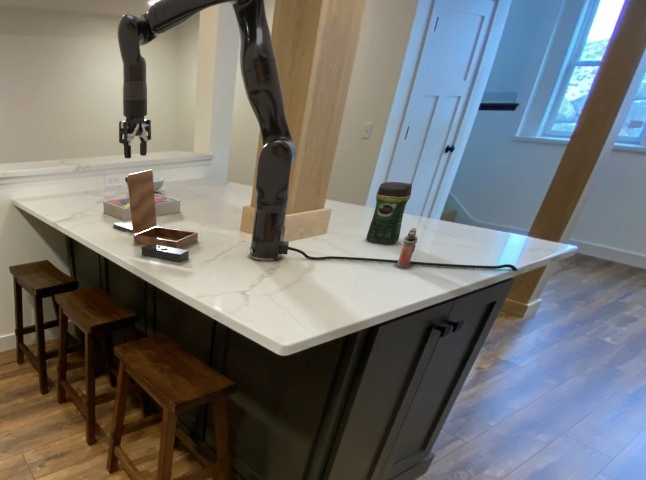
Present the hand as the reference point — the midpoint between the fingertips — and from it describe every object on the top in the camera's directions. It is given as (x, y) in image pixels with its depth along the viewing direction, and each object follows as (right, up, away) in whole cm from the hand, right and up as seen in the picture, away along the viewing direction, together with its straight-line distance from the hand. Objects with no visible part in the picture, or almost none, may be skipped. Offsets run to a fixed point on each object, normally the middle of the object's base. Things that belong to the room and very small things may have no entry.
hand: (135, 156), depth 146 cm
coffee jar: (+84, -27, +5) cm, 88 cm away
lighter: (+79, -40, -15) cm, 90 cm away
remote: (+9, -34, -2) cm, 36 cm away
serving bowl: (+6, +32, +100) cm, 105 cm away
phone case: (-2, -12, +33) cm, 35 cm away
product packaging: (+3, +4, +58) cm, 58 cm away
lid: (+3, -11, +10) cm, 15 cm away
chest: (+11, -25, +13) cm, 30 cm away
